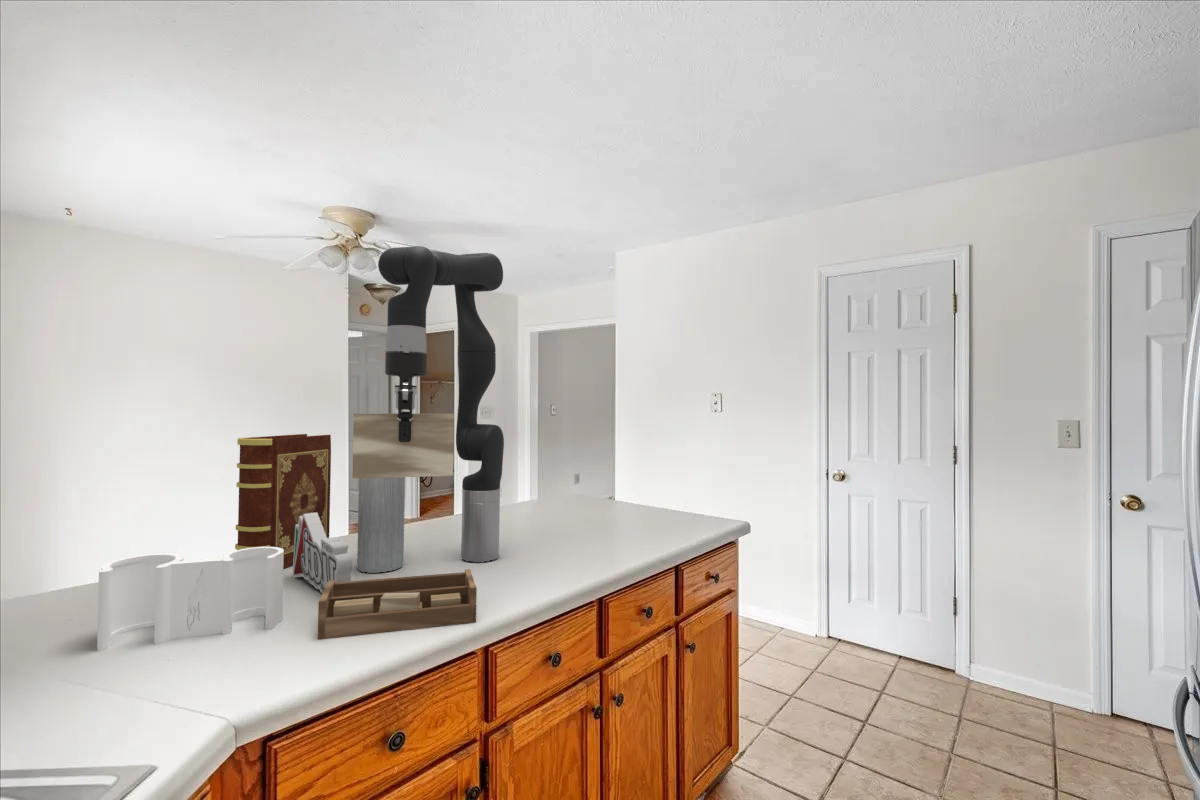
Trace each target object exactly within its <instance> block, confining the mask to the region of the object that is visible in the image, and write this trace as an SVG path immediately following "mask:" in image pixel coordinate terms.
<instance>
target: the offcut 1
mask: <svg viewBox="0 0 1200 800" xmlns="http://www.w3.org/2000/svg"><path fill="white" fill-rule="evenodd" d="M373 604H374V598H364V599H353V600H343V601H335V604H334V607H333V617H337V616H347V615H358V614H368V613H373Z"/></svg>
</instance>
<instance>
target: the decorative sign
mask: <svg viewBox="0 0 1200 800" xmlns="http://www.w3.org/2000/svg"><path fill="white" fill-rule="evenodd" d="M348 550H349V546H348V543H346V542H344V541H342V540H340V539H339V538H338V537H336V536H333V537H329V538H327V536H326V534H325V531H324V529H323V526H322V524H321V521H320V518H319V516H318V513H317V512H316V513H308V514H303V516H299V521H298V524H296V525H295V538H294V558H293V565H292V575H291V576H292V577H293V579H295V578H304V580H306V581H307V580H308V583H309V584H310V585H313V587H314V588H315V589H316V590H319V591H320V593H321V594H322V593H323V591H324V589H325V587H326V585H327V583H328V581H329V580H335V582H347V581H352V580H351V571H352V568H353V558H352V555H351V554H350V553H348Z"/></svg>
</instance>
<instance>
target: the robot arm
mask: <svg viewBox="0 0 1200 800" xmlns="http://www.w3.org/2000/svg"><path fill="white" fill-rule="evenodd" d="M377 267H378V271H379V274H380V275H381V277H382V278H383V279H384V280H385V281H386V282H387V283H389V284H392V285H393V286H394V285H395V286H401V285H402V286H403V285H405V286H407V287H406V289H405V290H404V292H403V293H400V294H397V295H395V296H392V297H390V298H389V300H388V303H387V323H386V324H387V329H386V334H385V353H384V354H385V356H384V357H385V359H384V361H385V364H384V365H385V366H384V367H385V368H384V374H386V375H387V376H388V377H398V378H399V384H398V385H394V395H395V409H396V410H397V413H396V414H397V417H398V422H399V441H400V442H410V441H411V422H412V420H413V414H414V413H413V410H415V408H416V395H417V393H418V392H417V391H418V390H417V388H418V387H417V385H413V378H415V377H419V378H420V377H425V376H426V375H427V372H428V371H427V369H428V368H427V365H428V354H427V353H428V337H427V307H428V303H429V299H430V296H431V293H432V290H433V286H443V287H444V286H454V295H455V296H454V297H455V303H456V305H455V306H456V316H457V371H458V372H457V375H458V377H457V378H458V399H457V401H458V404H457V406H458V407H457V418H456V428H455V429H456V430H455V445H456V446H455V447H456V452H457V454H458V457H459V458H460V459H461V460H463V461H470V462H471V461H473V462H481V465H480V469H478V471H476V472H475V473H472V474H468V475H466V476H464V477H463V478H462V481H461V482H462V484H461V486H462V487H461V488H462V489H461V493H462V495H461V544H460V546H461V547H460V548H461V549H460V558H462V559H464V560H466V561H465V562H468V561H473V562H472V563H485V562H484V561H487V562H491V561H490V560H492V561H495V560H497V559H499V557H500V521H501V520H500V516H501V515H500V512H501V511H500V510H501V482H502V481H501V480H502V475H503V463H504V462H503V461H504V451H505V450H504V448H505V439H504V438H505V437H504V432H503V430H502V427H501V426H499V425H497V424H490V423H489V424H484V423H478V412H479V411H478V409H479V406H480V402H481V401H482V398H483V396H485V395H484V394H485V393H486V391H487V389H488V388H489V386H490V384H491V382H493V378H494V376H495V374H496V370H497V369H496V368H497V367H496V365H497V363H496V361H497V360H496V359H497V358H496V357H497V355H496V354H497V353H496V344H495V341H494V339H493V336H492V335H491V334H490V332H489V330H488V329H487V327H486V326H485V324H484V323H483V321H482V319H481V318H480V315H479V313H478V310H477V307H476V306H477V305H476V300H475V293H477V292H478V293H480V292H492V291H495V290H497V289H499V287H501V285H502V283H503V279H504V269H503V264H502V262H501V260H500V259H499V257H498V256H497V255H496V254H493V253H489V252H478V253H476V252H475V253H464V254H456V253H455V254H454V253H450V252H449V253H448V252H443V251H437V250H430V249H429V248H428V247H425V246H422V245H420V246H419V245H418V246H417V245H415V246H401V247H400V246H399V247H391V248H387V249H385V250H384V251H383V252H382V253H381V255H380V256H379V258H378V262H377ZM404 410H405V411H404ZM406 410H407V411H406ZM496 558H497V559H496ZM462 559H461V560H462ZM494 559H495V560H494ZM464 560H463V561H464ZM482 561H483V562H482Z"/></svg>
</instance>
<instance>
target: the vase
mask: <svg viewBox="0 0 1200 800" xmlns="http://www.w3.org/2000/svg"><path fill="white" fill-rule="evenodd" d="M405 495H406V477H388V478H358V506H357V507H358V509H357V510H358V511H357V552H356V553H357V554H356V557H357V558H356V559H357V560H356V561H357V563H356V566H357V570H358V571H359V572H362V573H365V572H367V573H366V574H380V573H379V572H384V573H388V572H387V571H390V572H392V570H394V571H396V570H395V569H397V570H399V569H401V568H402V567H403V565H404V555H405V554H404V550H405V549H404V548H405V546H404V545H405V504H406V503H405V498H406V497H405ZM400 567H401V568H400ZM398 568H399V569H398Z"/></svg>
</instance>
